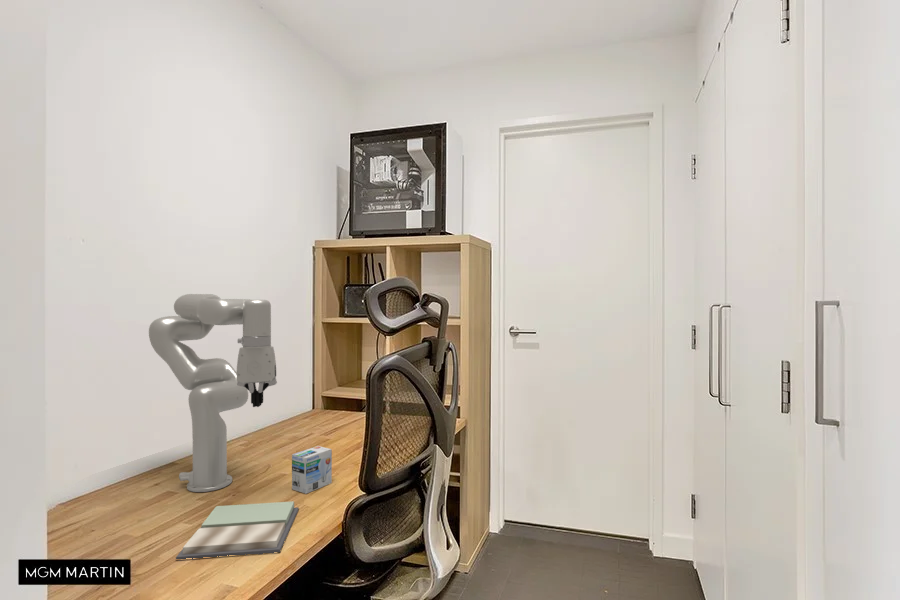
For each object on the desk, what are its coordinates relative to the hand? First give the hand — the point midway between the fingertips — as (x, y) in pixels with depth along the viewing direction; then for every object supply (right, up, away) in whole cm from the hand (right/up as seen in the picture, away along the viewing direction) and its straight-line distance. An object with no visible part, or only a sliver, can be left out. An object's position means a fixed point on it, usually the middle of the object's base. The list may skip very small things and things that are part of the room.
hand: (257, 405), depth 135 cm
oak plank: (+6, -26, -25) cm, 36 cm away
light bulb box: (+13, -27, +10) cm, 32 cm away
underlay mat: (+5, -27, -20) cm, 34 cm away
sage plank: (+4, -26, -14) cm, 30 cm away
